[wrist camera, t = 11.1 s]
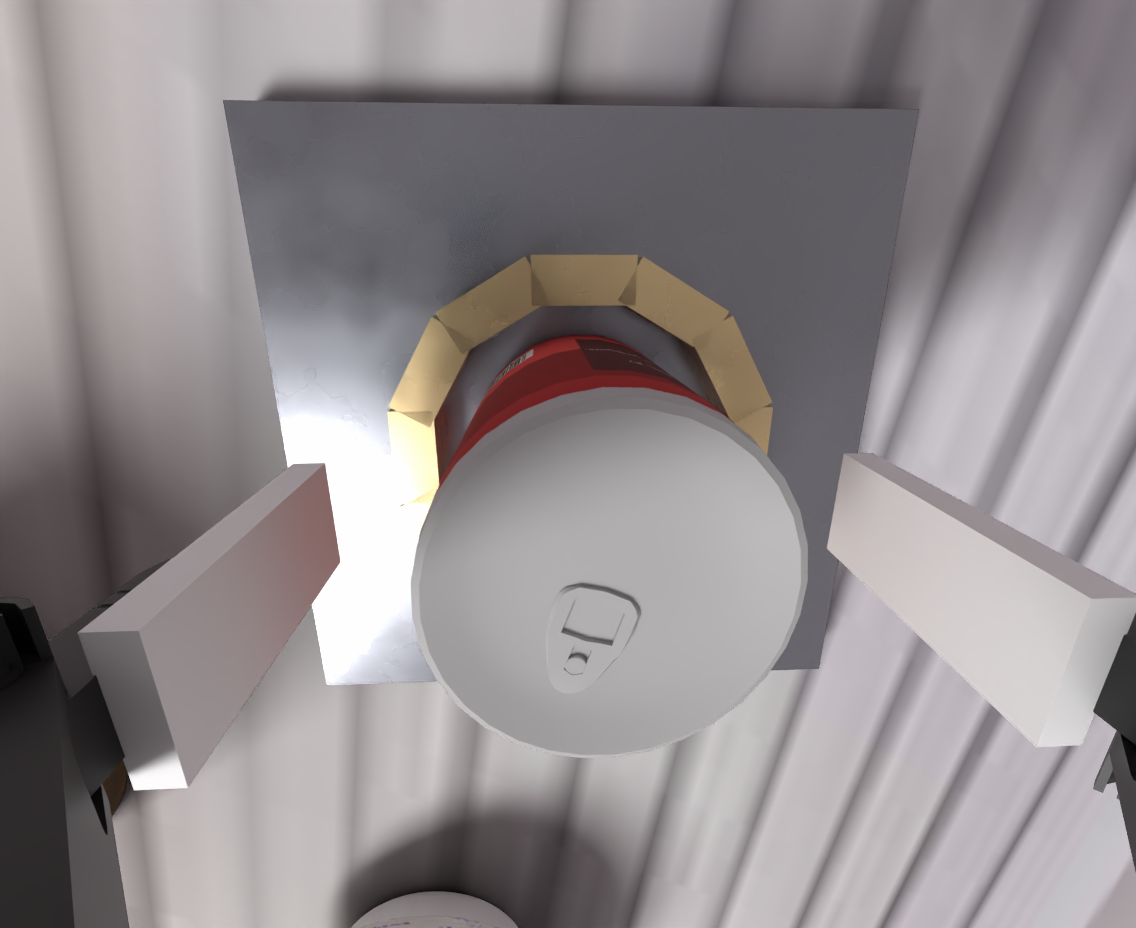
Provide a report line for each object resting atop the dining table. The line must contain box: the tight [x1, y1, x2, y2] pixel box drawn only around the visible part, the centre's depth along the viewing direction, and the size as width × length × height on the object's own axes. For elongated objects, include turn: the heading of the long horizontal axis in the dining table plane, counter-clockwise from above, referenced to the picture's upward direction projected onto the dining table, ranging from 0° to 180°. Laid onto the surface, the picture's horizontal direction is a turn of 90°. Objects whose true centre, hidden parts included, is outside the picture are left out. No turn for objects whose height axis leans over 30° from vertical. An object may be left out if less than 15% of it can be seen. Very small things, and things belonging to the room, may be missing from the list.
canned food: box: [411, 335, 808, 758], centre depth 15 cm, size 8×8×11 cm
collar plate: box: [223, 100, 919, 685], centre depth 20 cm, size 22×22×4 cm
